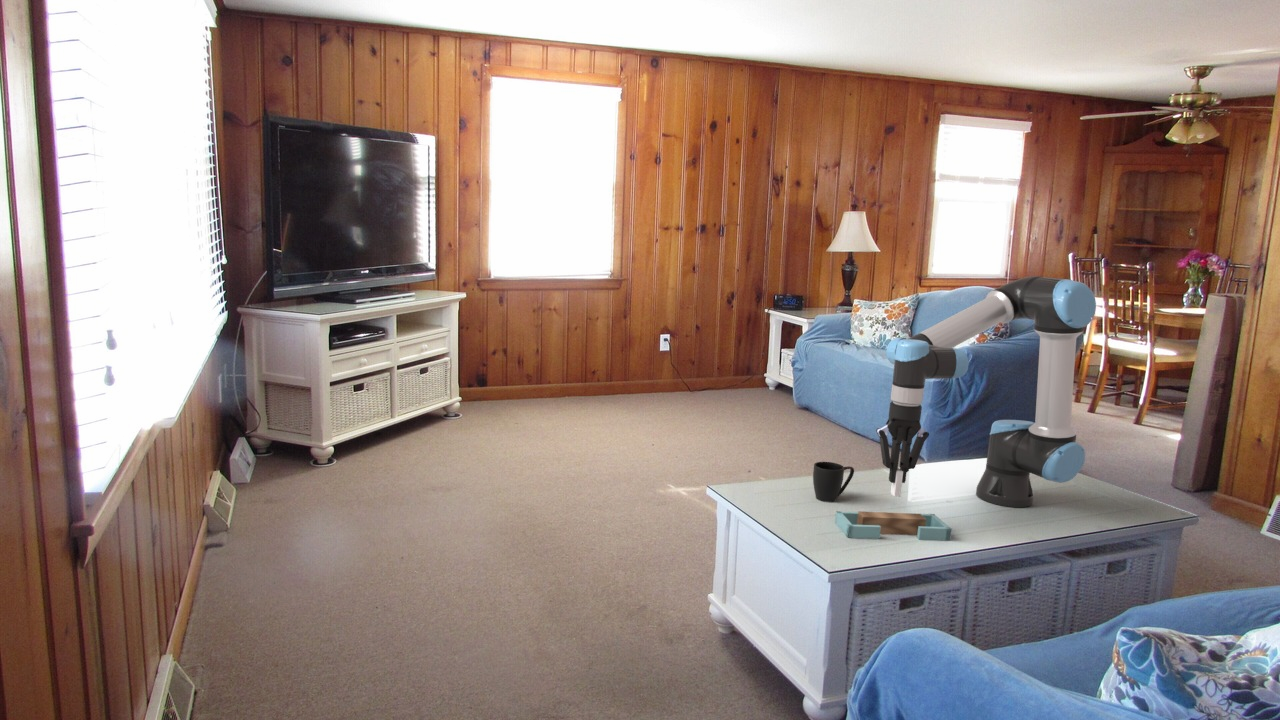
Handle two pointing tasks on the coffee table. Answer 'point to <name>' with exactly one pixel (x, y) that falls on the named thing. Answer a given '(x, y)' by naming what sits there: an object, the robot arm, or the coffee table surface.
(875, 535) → the cap
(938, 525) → the teal staple arch
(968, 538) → the coffee table surface
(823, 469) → the mug
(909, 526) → the slat
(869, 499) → the coffee table surface
